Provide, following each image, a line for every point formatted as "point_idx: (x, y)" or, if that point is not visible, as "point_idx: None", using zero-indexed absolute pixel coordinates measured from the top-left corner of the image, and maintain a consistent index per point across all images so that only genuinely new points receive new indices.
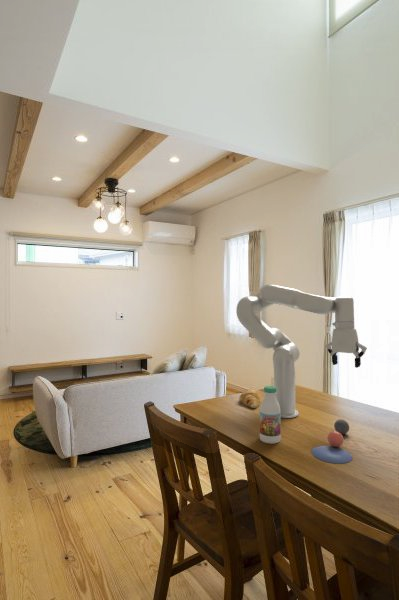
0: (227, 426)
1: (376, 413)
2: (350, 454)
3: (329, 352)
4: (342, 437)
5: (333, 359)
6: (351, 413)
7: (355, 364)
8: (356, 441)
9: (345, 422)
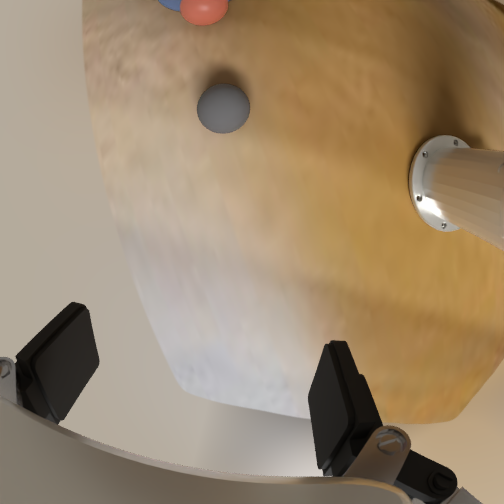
0: (479, 14)
1: (210, 366)
2: (162, 3)
3: (426, 460)
4: (180, 4)
5: (348, 381)
6: (268, 328)
7: (65, 315)
8: (171, 86)
9: (203, 101)
